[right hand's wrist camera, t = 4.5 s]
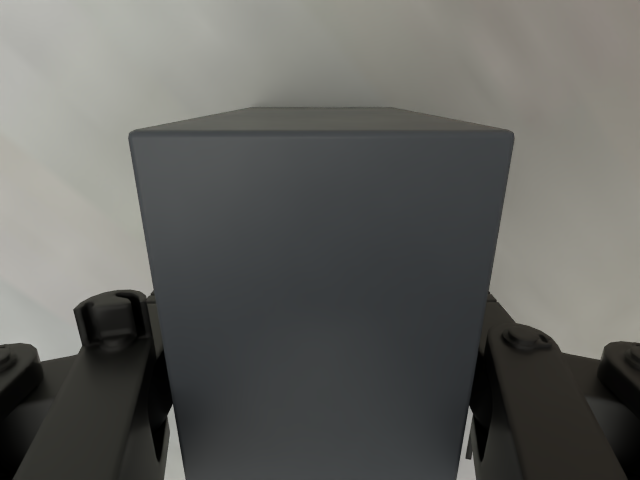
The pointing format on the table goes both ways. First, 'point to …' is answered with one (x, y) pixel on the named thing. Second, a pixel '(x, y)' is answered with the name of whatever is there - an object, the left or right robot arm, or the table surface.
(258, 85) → the table surface
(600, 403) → the right robot arm
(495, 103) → the table surface
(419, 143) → the beam
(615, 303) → the table surface
